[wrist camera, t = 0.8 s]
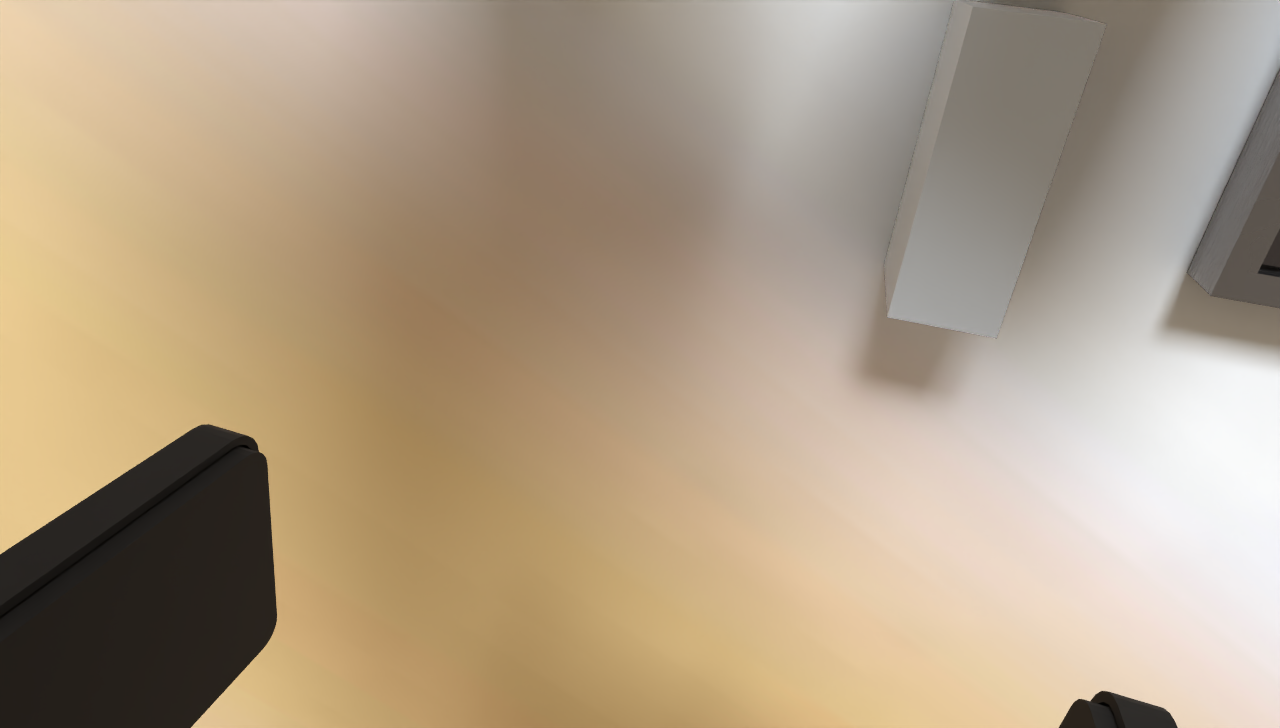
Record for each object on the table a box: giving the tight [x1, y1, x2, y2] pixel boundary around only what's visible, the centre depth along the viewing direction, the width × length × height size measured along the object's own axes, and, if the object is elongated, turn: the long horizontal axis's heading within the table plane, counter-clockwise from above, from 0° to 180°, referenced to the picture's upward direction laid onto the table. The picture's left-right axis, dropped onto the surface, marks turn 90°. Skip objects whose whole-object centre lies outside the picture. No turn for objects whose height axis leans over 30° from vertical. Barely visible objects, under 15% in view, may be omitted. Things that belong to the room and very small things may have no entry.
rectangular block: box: [884, 0, 1107, 339], centre depth 27 cm, size 10×4×6 cm, turn 174°
